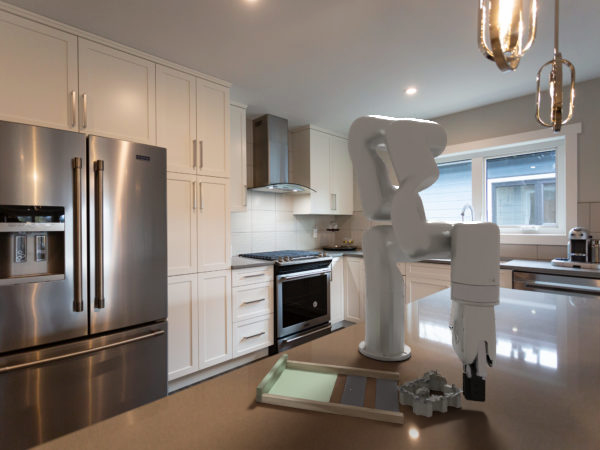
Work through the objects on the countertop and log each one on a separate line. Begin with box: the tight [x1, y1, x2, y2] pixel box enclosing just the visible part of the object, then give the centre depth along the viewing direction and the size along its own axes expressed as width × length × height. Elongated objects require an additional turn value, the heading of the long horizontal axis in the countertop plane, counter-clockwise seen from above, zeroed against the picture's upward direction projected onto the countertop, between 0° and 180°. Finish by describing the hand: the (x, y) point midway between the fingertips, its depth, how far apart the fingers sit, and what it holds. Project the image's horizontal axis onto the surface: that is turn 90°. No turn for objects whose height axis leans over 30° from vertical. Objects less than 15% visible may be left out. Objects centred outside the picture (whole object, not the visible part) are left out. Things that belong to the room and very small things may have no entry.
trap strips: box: [339, 374, 400, 413], centre depth 61 cm, size 14×10×1 cm
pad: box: [268, 367, 339, 402], centre depth 64 cm, size 14×12×1 cm
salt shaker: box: [448, 300, 454, 327], centre depth 101 cm, size 5×5×11 cm
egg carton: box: [395, 369, 463, 418], centre depth 58 cm, size 11×8×4 cm
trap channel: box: [255, 353, 404, 425], centre depth 63 cm, size 16×25×2 cm, turn 75°
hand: (473, 398), depth 56 cm, fingers closed
